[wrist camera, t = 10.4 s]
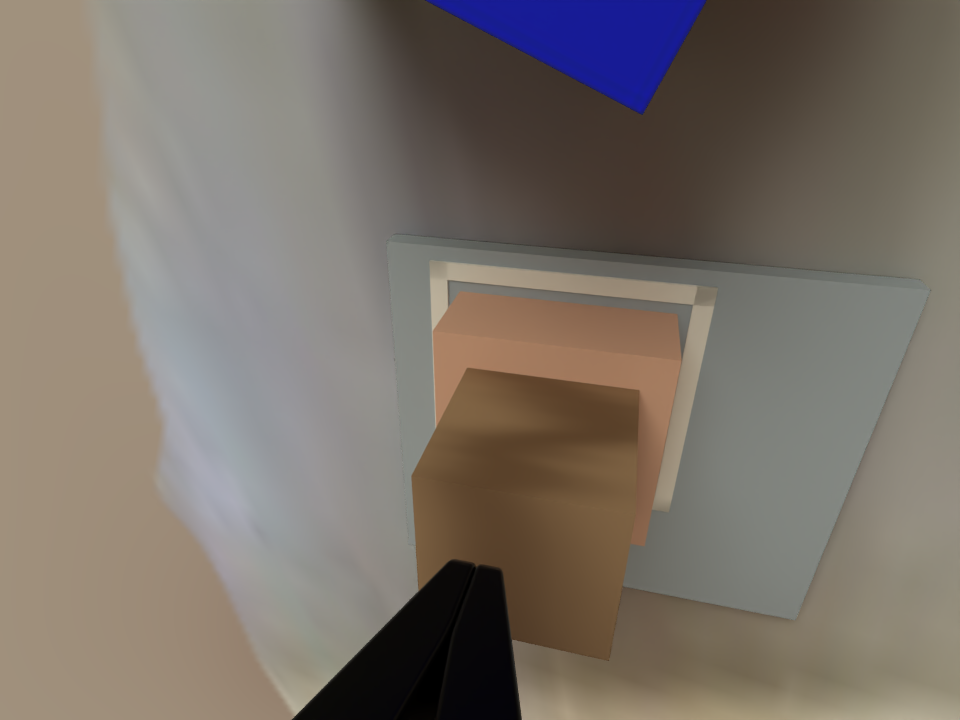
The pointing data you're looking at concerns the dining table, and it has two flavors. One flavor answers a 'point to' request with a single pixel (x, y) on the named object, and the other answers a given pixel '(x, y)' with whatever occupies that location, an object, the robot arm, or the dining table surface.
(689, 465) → the grey flat slab
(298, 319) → the dining table surface
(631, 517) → the walnut cube
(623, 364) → the terracotta base
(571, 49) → the puzzle toy
